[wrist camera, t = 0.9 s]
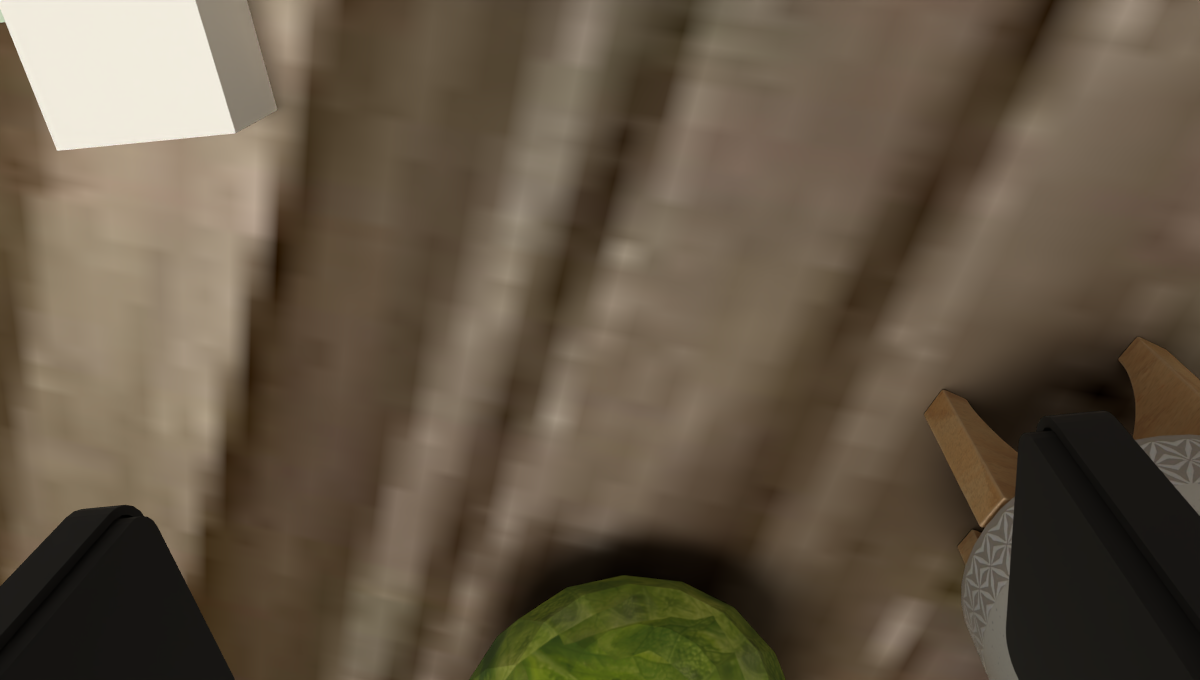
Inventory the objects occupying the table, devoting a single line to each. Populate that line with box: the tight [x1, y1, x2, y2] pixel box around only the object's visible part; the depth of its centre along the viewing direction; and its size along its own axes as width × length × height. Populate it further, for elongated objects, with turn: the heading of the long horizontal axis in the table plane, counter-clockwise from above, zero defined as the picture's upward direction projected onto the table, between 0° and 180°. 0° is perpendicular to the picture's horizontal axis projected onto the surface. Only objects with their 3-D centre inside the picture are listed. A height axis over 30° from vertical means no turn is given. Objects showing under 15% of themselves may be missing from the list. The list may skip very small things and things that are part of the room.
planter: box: [924, 337, 1200, 680], centre depth 31 cm, size 13×13×18 cm
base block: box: [0, 0, 277, 151], centre depth 31 cm, size 7×7×4 cm
